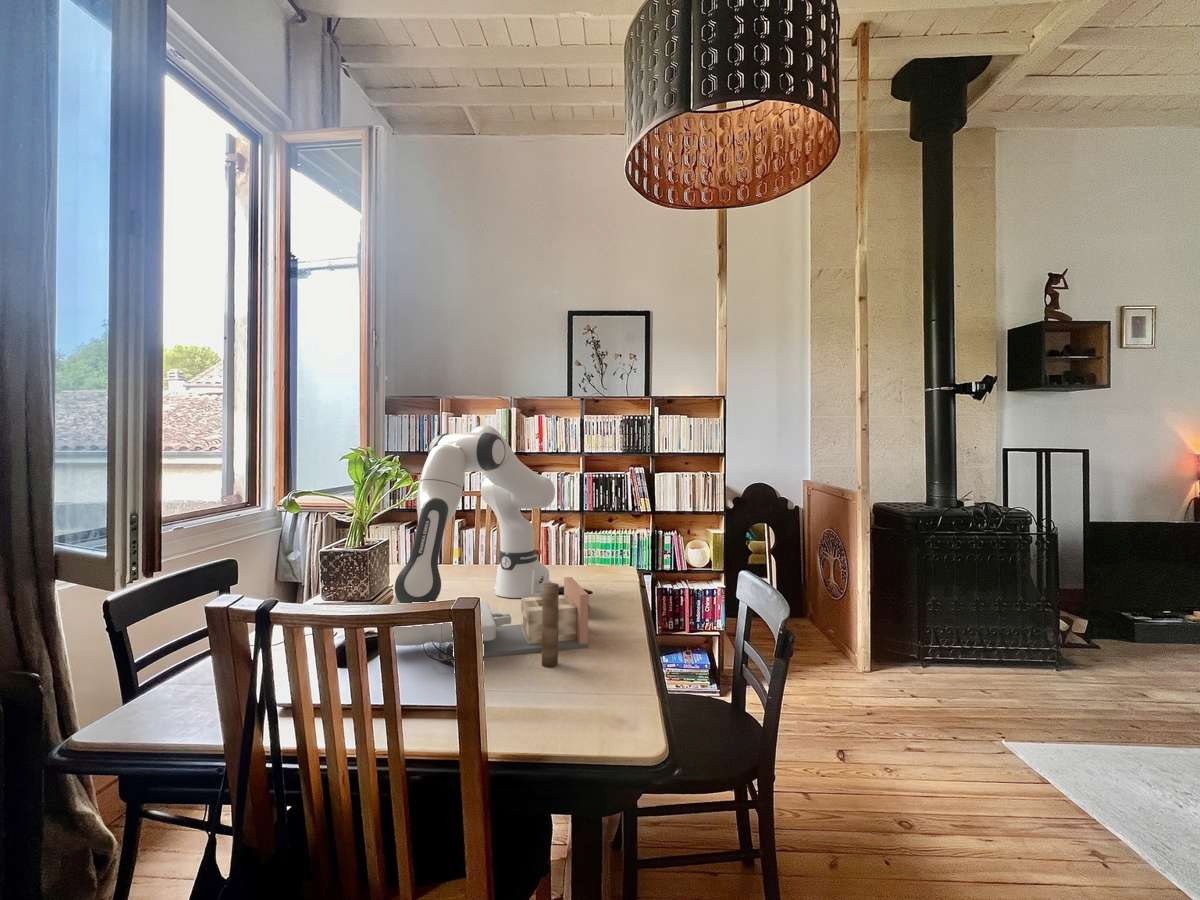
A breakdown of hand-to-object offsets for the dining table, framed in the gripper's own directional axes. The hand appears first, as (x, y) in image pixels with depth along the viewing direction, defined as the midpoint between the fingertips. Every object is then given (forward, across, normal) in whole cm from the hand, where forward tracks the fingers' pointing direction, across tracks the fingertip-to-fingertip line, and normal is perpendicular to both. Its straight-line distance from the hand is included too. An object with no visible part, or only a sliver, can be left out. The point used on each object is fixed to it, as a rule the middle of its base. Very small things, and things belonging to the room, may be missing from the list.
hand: (510, 618), depth 142 cm
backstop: (+4, 0, +6) cm, 7 cm away
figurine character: (+21, +20, +6) cm, 30 cm away
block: (+10, 0, +5) cm, 11 cm away
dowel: (+7, -17, +6) cm, 19 cm away
